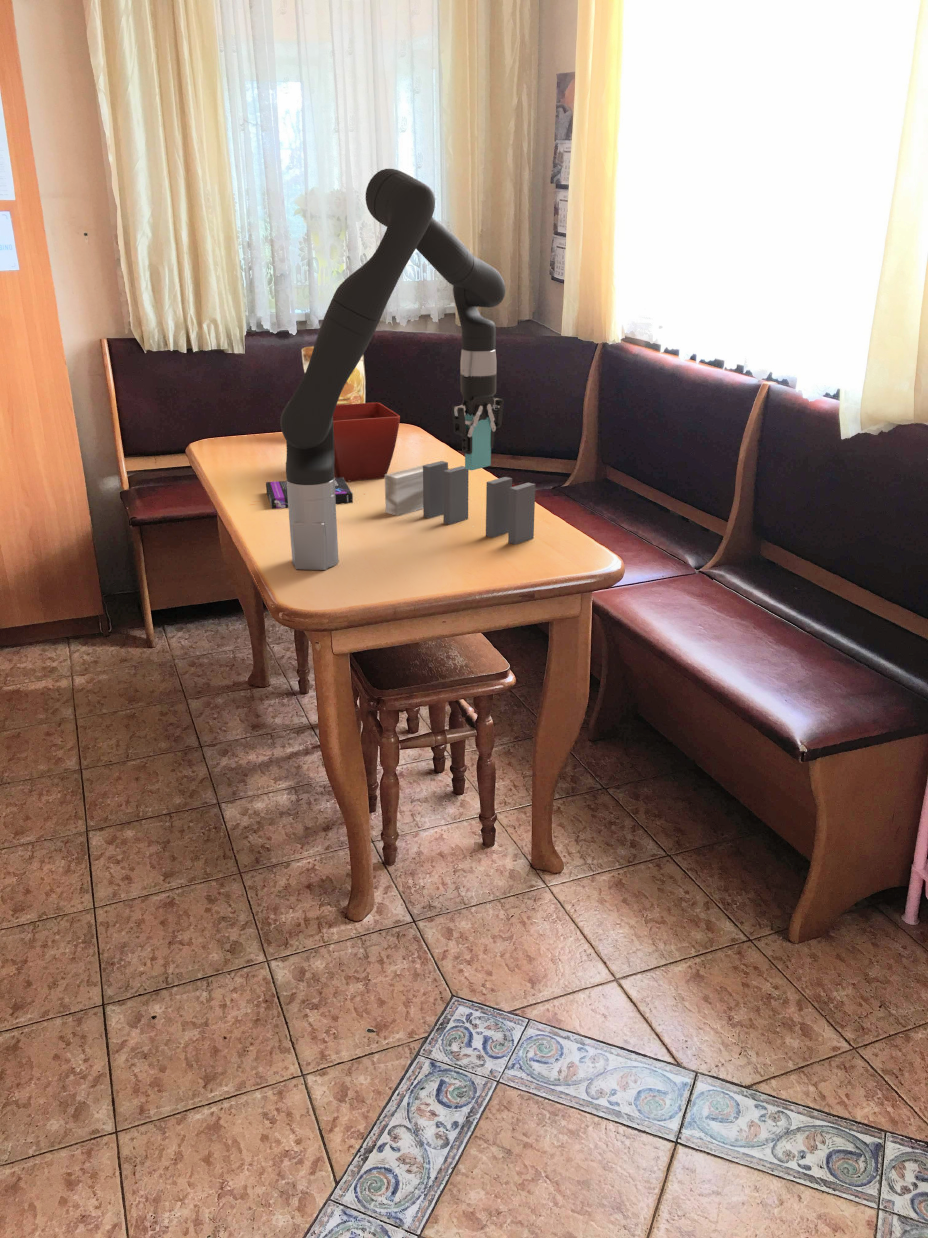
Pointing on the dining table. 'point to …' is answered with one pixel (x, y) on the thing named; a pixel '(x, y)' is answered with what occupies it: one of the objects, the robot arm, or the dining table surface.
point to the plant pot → (363, 440)
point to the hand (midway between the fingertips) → (477, 450)
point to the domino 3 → (479, 445)
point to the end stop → (404, 491)
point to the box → (280, 496)
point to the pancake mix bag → (352, 388)
